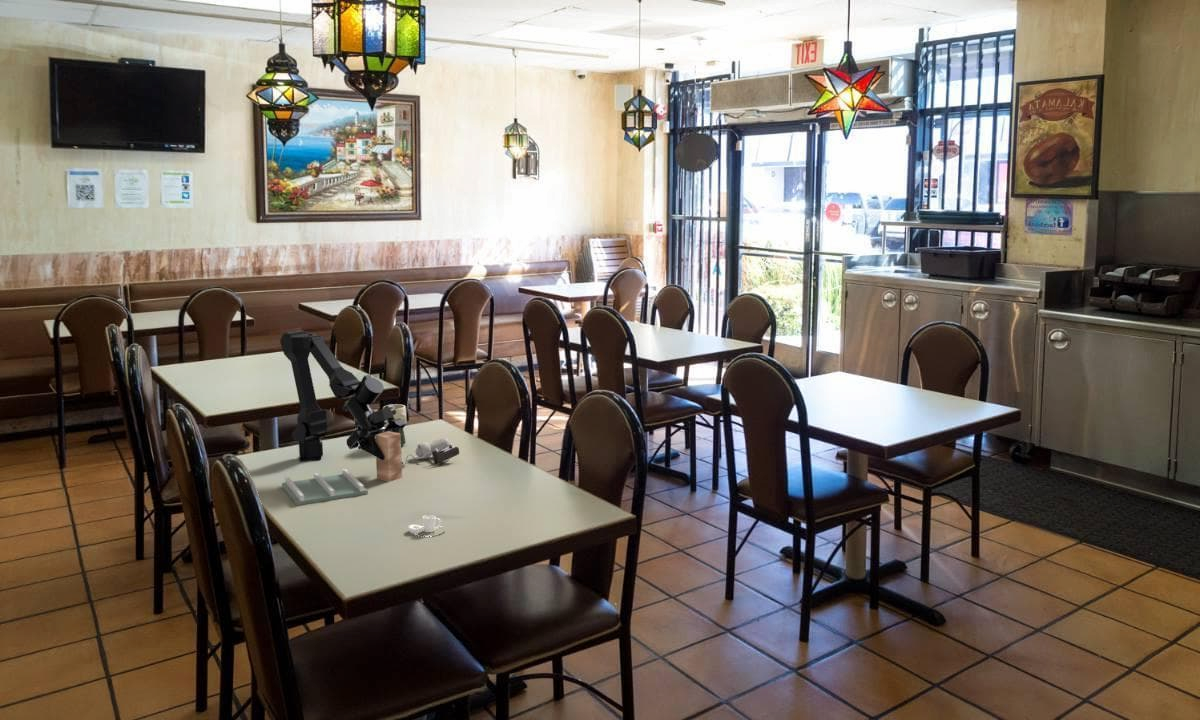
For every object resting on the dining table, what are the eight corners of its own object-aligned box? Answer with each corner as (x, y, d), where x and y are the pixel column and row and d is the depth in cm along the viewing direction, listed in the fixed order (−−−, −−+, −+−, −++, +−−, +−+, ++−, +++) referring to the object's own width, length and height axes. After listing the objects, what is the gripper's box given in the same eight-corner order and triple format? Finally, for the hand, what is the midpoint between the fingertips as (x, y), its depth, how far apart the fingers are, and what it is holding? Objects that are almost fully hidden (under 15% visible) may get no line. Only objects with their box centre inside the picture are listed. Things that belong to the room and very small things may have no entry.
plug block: (389, 481, 270) (387, 437, 267) (377, 478, 272) (375, 434, 270) (402, 477, 274) (400, 433, 271) (389, 474, 277) (388, 431, 274)
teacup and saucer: (403, 535, 230) (402, 519, 229) (421, 525, 237) (420, 509, 236) (435, 540, 227) (434, 524, 226) (451, 529, 234) (451, 513, 233)
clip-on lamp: (405, 480, 281) (462, 459, 289) (401, 460, 279) (457, 440, 286) (393, 466, 291) (448, 446, 299) (388, 447, 289) (444, 427, 296)
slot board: (281, 486, 265) (281, 478, 265) (349, 476, 274) (349, 468, 274) (296, 505, 250) (296, 496, 249) (367, 493, 259) (367, 485, 259)
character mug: (376, 445, 307) (374, 406, 305) (393, 440, 312) (392, 402, 310) (397, 451, 300) (396, 411, 298) (415, 446, 306) (414, 407, 303)
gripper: (351, 403, 263) (381, 447, 259) (400, 391, 279) (429, 433, 275) (333, 426, 269) (362, 470, 265) (382, 413, 284) (410, 455, 280)
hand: (392, 456), depth 271 cm, fingers open, 6 cm apart
